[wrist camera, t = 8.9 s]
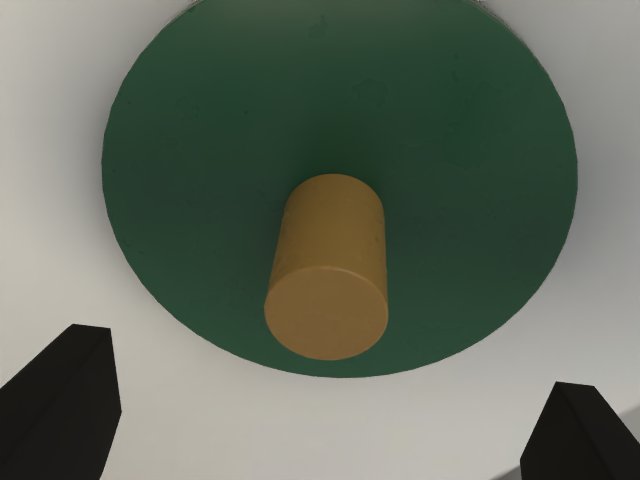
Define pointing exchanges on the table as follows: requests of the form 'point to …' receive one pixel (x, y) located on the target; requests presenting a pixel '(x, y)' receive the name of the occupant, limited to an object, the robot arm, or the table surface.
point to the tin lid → (339, 179)
